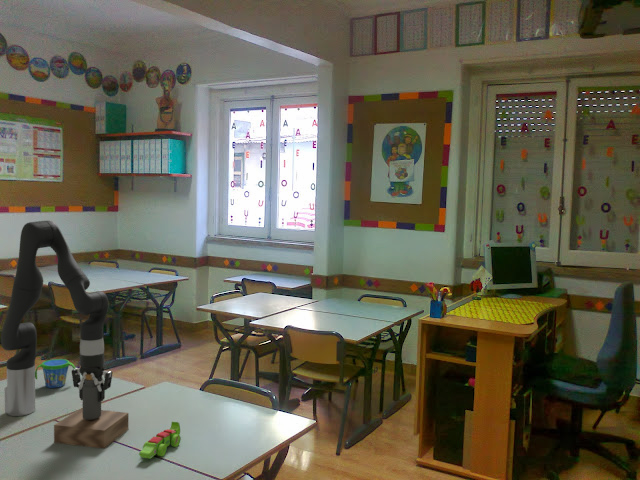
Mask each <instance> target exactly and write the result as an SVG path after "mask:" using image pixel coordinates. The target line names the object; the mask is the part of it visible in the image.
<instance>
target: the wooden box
mask: <svg viewBox="0 0 640 480" xmlns="http://www.w3.org/2000/svg"><path fill="white" fill-rule="evenodd" d="M128 431H129V412H125V411H124V412H123V411H115V410H106V409H105V410H104V409H101V416H100V417H99V418H96V419H91V420H88V419H84V418H83V407H81V408H79V409H77V410H76V411H75V412H73V413H71V414H70V415H68V416H67V417H65V418H63V419H61V420H59V421H58V422H57V423H54V425H53V443H55V444H60V445H61V444H63V445H71V446H79V447H88V448H98V449H106V448H107V447H108V446H109V445H111V444H112V443H114V442H115V441H116V440H117V439H118V438H120V437H121V436H122V435H123V434H125V433H126V432H128Z"/></svg>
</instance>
